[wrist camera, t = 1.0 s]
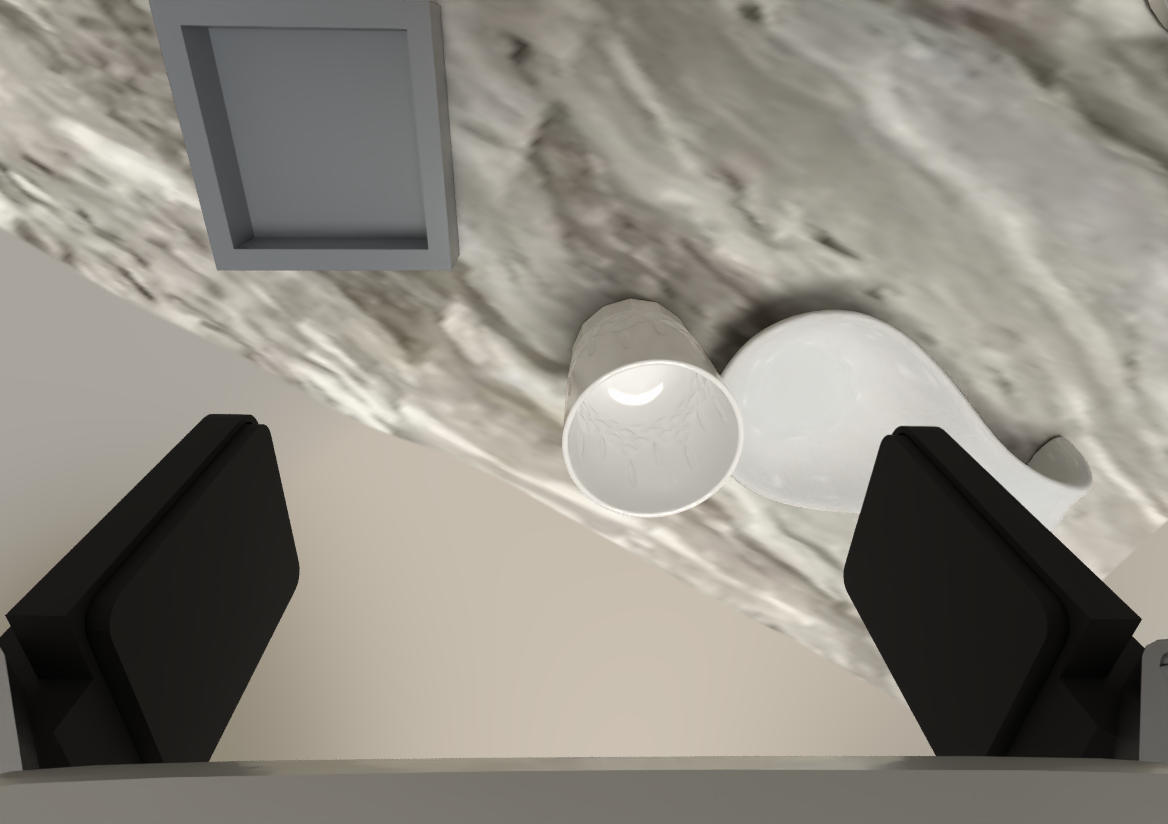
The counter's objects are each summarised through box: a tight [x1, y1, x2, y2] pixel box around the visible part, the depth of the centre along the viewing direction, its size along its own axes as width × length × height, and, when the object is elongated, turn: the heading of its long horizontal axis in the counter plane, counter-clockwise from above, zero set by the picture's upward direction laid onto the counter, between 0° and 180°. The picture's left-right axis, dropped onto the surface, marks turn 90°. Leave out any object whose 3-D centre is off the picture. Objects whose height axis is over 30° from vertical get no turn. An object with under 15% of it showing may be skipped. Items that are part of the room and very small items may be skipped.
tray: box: [149, 0, 460, 271], centre depth 30 cm, size 11×11×3 cm
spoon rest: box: [720, 310, 1093, 532], centre depth 37 cm, size 24×12×7 cm, turn 71°
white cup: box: [562, 298, 744, 518], centre depth 33 cm, size 8×8×10 cm
